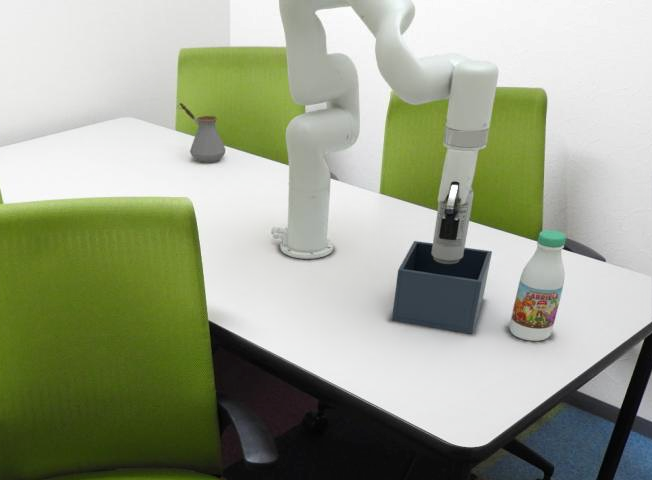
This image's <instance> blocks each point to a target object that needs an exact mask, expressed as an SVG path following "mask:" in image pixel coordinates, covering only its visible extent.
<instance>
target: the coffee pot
mask: <svg viewBox="0 0 652 480" xmlns="http://www.w3.org/2000/svg"><path fill="white" fill-rule="evenodd" d="M179 106H180V108H179ZM177 109H179V110H181V109H182V110H184V112H185V113H186V114H187V115H188V116H189V117H190V119H192V120H193V121H194V122H195V124H197V125H198V127H197V130H196V132H195V136H194V138H193V140H192V143H191V147H190V149H189V153H190V155H191V157H192V158H193V159H195V161H196V162H198V163H203V164H211V163H217V162H220V160H221V159H222V158H223V157H224V156H225V154H226V148H225V145H224V142H223V140H222V138H221V136H220V133H219V131H218V129H217V126H216V122H217V120H218V117H217V116H214V115H204V116H203V115H202V116H199V117H197V118H196V117H195V116H194V114H193V113H192V112H191V111H190V109H189V108H187V106H186V105H184V103H182V102H180V103H179V104H178V105H177Z"/></svg>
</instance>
